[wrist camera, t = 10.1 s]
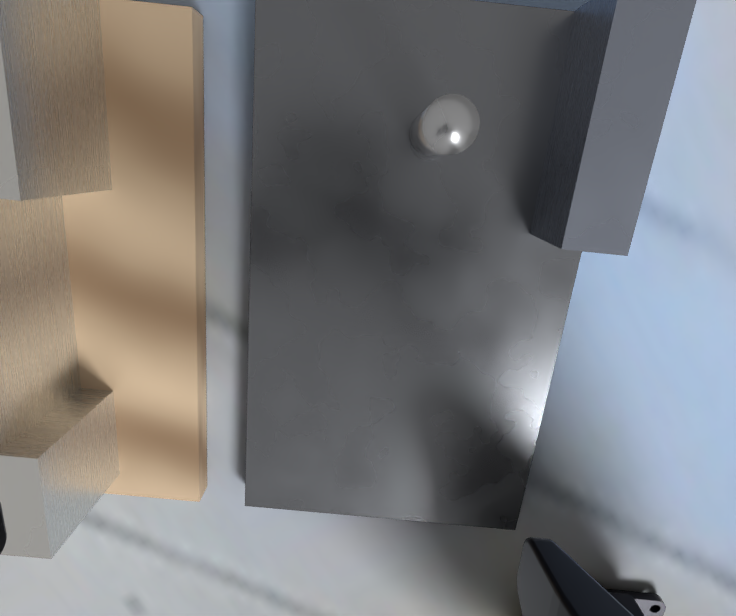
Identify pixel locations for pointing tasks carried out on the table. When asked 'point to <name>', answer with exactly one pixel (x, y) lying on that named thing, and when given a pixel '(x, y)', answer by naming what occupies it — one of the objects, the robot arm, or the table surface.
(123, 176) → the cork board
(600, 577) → the table surface
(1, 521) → the robot arm
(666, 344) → the table surface
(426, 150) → the plate
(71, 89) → the white open-top bracket
